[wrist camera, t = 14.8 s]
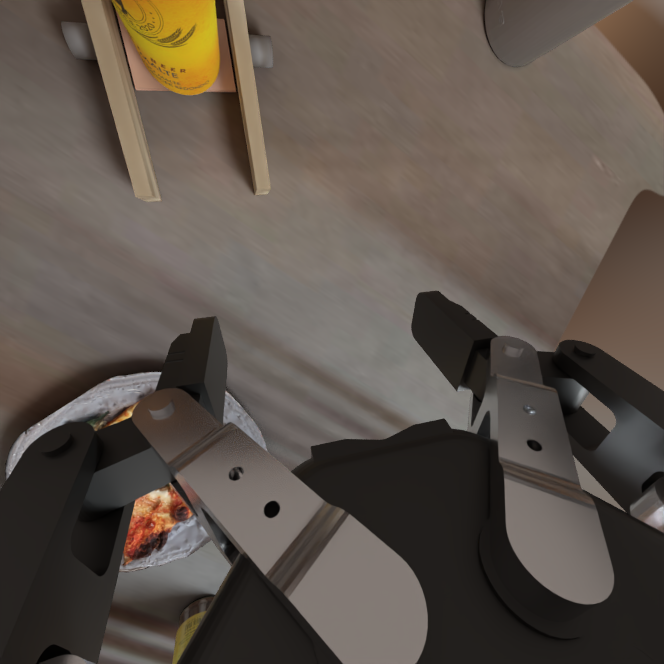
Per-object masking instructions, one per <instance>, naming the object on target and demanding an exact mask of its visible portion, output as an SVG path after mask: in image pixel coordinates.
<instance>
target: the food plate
mask: <svg viewBox="0 0 664 664" xmlns="http://www.w3.org/2000/svg"><path fill="white" fill-rule="evenodd" d="M160 375H161V372H148V373H147V372H146V373H143V372H142V373H137V374H130V375H125V376H114V377H113V378H110V377H109V378H110V379H108V380H107V379H106V382H103V383H102V382H101V384H100V383H99V384H98V385H96V387H93V388H91V389H90V390H88V391H87V392H86V393H84V394H82V395H81V396H79V397H78V398H76V399H74V400H72V401H71V402H69V403H68V404H66V405H65V406H63V407H62V408H60V409H59V410H57V411H56V412H54V413H52V414H51V415H49V416H48V417H46V418H45V419H43V420H42V421H40V422H38V423H37V425H36V424H35V426H32V427H30V428H29V429H27V433H26V432H25V431H24V432H23V433H21V435H20V436H19V438H17V440H16V441H15V442H14V444H12V446H11V449H10V451H9V454H8V458H7V461H6V463H5V464H6V470H5V471H6V473H5V474H6V476H5V477H6V480H7V479H8V477H9V475H10V474H11V472H12V471H13V469H14V467H15V466H16V464H17V462H18V461H19V459H20V458H21V456H22V454H23V453H24V451H25V450H26V449H27V448H28V446H29V445H30V444H31V443H32V442H34V441H35V440H36V439H37V438H39V437H40V436H41V435H43V434H44V433H46V432H48V431H50V430H51V429H53V428H56V427H58V426H61V425H63V424H67V423H71V422H86V423H89V424H90V425H92V427H93V428H94V430H95V431H97V430H100V429H102V428H105V427H107V426H110V425H113V424H115V423H118V422H120V421H123V420H125V419H127V418H129V417H131V416H132V413H133V410H134V408H135V407H136V405H137V404H138V403H139V402H140V401H141V400H142V399H144V398H145V397H147V396H148V395H150V394H152V393H154V392H155V389H156V386H157V384H158V381H159V378H160ZM229 422H232V423H234V424H235V425H237V426H238V427H239V428H240V429H241V430H243V431H244V432H245V433H246V434H247V435H248V436H250V437H251V438H252V439H253V440H254V441H255V442H257V443H258V444H259V445H260V446H261V447H262V448H264V449H265V450H266V449H267V448H266V447H265V446H266V444H265V442H264V439H263V437H262V434H261V432H260V431H259V430H260V429H259V428H258V427H257V425H256V423H255V422H254V420H253V419H252V418H251V417H250V415H248V413H246V411H245V410H244V409H243V407H241V405H240V404H239V403H238V402H237V401H235V399H234V398H233V397H232V396H231V395H230V394H229V393H228V392H227V391H225V404H224V417H223V425H224V426H225V425H226V424H227V423H229ZM266 451H267V450H266ZM267 452H268V451H267ZM210 541H211V538H210V537H209V535H208V534H207V532H206V531H205V529H204V528H203V527H202V525H201V524H200V523H199V521H198V520H197V519H196V517H195V516H194V515H193V514H192V512H191V511H190V510H189V508H188V507H187V506H186V505H185V503H184V502H183V501H182V500H181V498H180V497H179V496H178V494H177V493H176V492H175V491H174V489H173V488H172V487H171V485H170V484H169V483H168V484H166V485H164V486H162V487H160V488H158V489H156V490H154V491H152V492H150V493H148V494H146V495H144V496H142V497H140V498H138V499H136V500H135V504H134V509H133V513H132V517H131V521H130V526H129V530H128V534H127V539H126V543H125V547H124V551H123V556H122V560H121V564H120V569H119V572H133V571H137V570H142V569H143V568H145V569H146V568H148V567H150V566H161V565H164V564H166V563H168V562H171V561H173V560H176V559H180V558H184V557H188V556H189V555H190V554H193V553H194V552H195V551H197V550H198V549H199V548H200V547H203V546H204V544H206V543H208V542H210Z"/></svg>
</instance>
